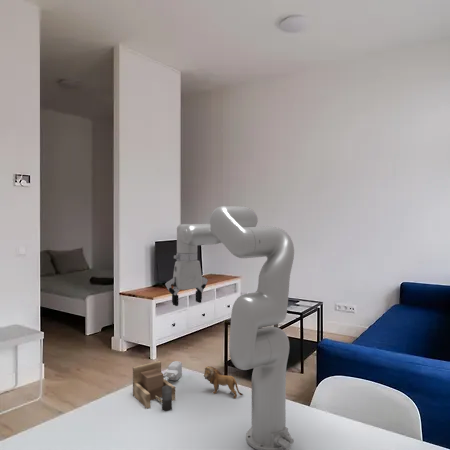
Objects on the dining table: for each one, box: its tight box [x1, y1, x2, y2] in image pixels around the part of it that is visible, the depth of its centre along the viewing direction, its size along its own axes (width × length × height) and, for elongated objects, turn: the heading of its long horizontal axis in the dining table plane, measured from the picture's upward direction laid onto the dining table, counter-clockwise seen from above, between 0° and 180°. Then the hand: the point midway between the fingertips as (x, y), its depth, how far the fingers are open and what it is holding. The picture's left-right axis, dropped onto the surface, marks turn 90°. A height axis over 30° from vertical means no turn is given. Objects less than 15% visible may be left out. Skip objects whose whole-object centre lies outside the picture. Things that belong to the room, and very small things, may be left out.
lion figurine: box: [203, 366, 244, 399], centre depth 143 cm, size 15×5×9 cm, turn 70°
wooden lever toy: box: [140, 369, 173, 412], centre depth 137 cm, size 16×6×8 cm, turn 35°
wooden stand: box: [132, 360, 176, 409], centre depth 139 cm, size 12×10×10 cm
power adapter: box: [163, 360, 183, 381], centre depth 154 cm, size 11×5×6 cm, turn 165°
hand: (187, 303), depth 148 cm, fingers open, 9 cm apart
